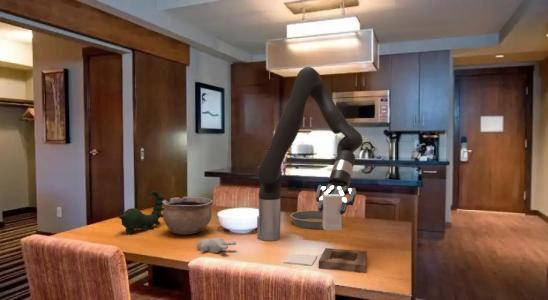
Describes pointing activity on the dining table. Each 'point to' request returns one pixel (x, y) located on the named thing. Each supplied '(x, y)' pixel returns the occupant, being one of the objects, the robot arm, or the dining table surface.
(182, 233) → the ceramic bowl
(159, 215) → the toy figurine
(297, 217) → the cake pan
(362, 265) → the frame
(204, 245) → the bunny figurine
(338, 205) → the skincare box
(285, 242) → the dining table surface
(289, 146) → the robot arm
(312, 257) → the ceramic tile
